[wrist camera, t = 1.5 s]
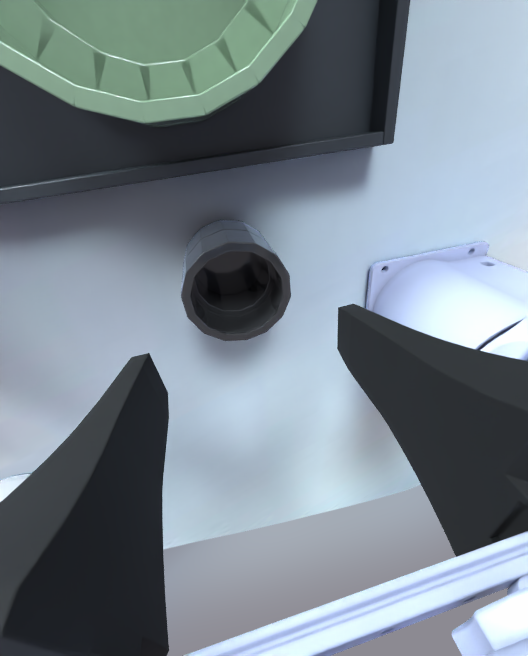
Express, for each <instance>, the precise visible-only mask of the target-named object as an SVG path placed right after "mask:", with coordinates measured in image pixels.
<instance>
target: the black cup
mask: <svg viewBox="0 0 528 656" xmlns="http://www.w3.org/2000/svg"><path fill="white" fill-rule="evenodd" d="M290 297H291V290H290V276H289V273H288V271H287V270H286V268H285V267H284V265H283V264H282V262H281V260H280V259H279V257H278V256H277V254H276V253H275V252H274V250H273V249H272V248H271V246H270V245H269V244H268V242H267V241H266V240H265V238H264V237H263V236H262V234H261V233H260V232H259V231H258V230H256V229H255V228H253V227H251V226H250V225H248V224H246V223H244V222H243V221H242V222H241V221H235V220H218V221H216V222H214V223H211V224H209V225H207V226H204V227H202V228H201V229H199V231H198V232H197V233H196V234H195V235H194V237H193V238H192V239H191V240H190V242H189V243H188V245H187V247H186V252H185V257H184V262H183V275H182V288H181V298H182V301H183V304H184V308H185V311H186V314H187V317H188V318H189V319H190V320H191V321H192V322H193V323H194V324H195V325H196V326H197V327H198V328H199V329H200V330H201V331H202V332H203V333H204V334H207V335H210V336H212V337H215V338H218V339H221V340H223V341H224V340H225V341H236V340H248V339H251V338H253V337H255V336H258V335H260V334H262V333H265V332H267V331H268V330H269V329H270V328H271V327H272V326H273V325H274V324H275V323H276V322H277V321H278V320H279V319H281V318H282V316H283V314H284V312H285V310H286V307H287V305H288V302H289V300H290Z"/></svg>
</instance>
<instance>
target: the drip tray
mask: <svg viewBox="0 0 528 656" xmlns="http://www.w3.org/2000/svg"><path fill="white" fill-rule="evenodd" d="M409 6H410V0H318V1H317V3H316V6H315V8H314V10H313V12H312V15H311V17H310V19H309V21H308V24H307V26H306V28H305V29H304V30H303V32H302V33H301V35H300V36H299V37H298V38H297V39H296V41H295V42H294V43H293V44H292V46H291V47H290V48H289V49H288V50H287V52H286V53H285V54H284V55H283V56H282V58H281V59H280V60H279V61H278V62H277V64H276V65H275V66H274V67H273V68H272V70H271V71H270V72H269V73H268V75H267V76H266V77H265V78H264V79H263V81H262V82H261V83H260V84H259V85H257V86H256V87H255V88H254V89H253V90H252V91H250V92H249V93H248V94H247V95H246V96H244V97H243V98H242V99H241V100H240V101H238V102H237V103H235V104H233V105H232V106H230V107H228V108H226V109H225V110H223V111H221V112H220V113H218V114H216V115H214V116H213V117H211V118H209V119H208V120H206V121H204V122H201V123H196V124H189V125H181V126H174V127H167V128H154V127H149V126H145V125H141V124H136V123H132V122H127V121H123V120H119V119H114V118H110V117H107V116H103V115H100V114H96V113H92V112H89V111H85V110H82V109H78V108H76V107H73V106H71V105H69V104H68V103H66V102H64V101H62V100H60V99H59V98H57V97H55V96H53V95H52V94H50V93H48V92H46V91H44V90H43V89H41V88H39V87H37V86H35V85H34V84H32V83H30V82H28V81H26V80H25V79H23V78H21V77H19V76H17V75H16V74H14V73H12V72H10V71H9V70H7V69H5V68H3V67H1V66H0V204H6V203H12V202H19V201H25V200H32V199H38V198H44V197H51V196H57V195H64V194H70V193H77V192H83V191H90V190H96V189H102V188H109V187H115V186H122V185H128V184H135V183H141V182H148V181H154V180H160V179H167V178H173V177H180V176H186V175H193V174H199V173H205V172H212V171H218V170H225V169H231V168H238V167H244V166H251V165H257V164H263V163H270V162H276V161H283V160H289V159H296V158H302V157H308V156H315V155H321V154H328V153H334V152H341V151H347V150H354V149H360V148H366V147H373V146H379V145H386V144H392V143H393V141H394V132H395V124H396V116H397V107H398V99H399V90H400V82H401V73H402V65H403V57H404V48H405V40H406V31H407V23H408V14H409Z"/></svg>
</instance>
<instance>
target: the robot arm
mask: <svg viewBox="0 0 528 656" xmlns="http://www.w3.org/2000/svg"><path fill="white" fill-rule="evenodd" d="M488 248H489V244H488V243H487V242H484V241H481V242H476V243H471V244H466V245H461V246H456V247H451V248H446V249H441V250H436V251H431V252H426V253H421V254H416V255H411V256H406V257H401V258H396V259H391V260H386V261H382V262H377V263H374V264H373V265H372V266H371V268H370V273H369V282H368V292H367V302H366V309H365V308H363V307H360V306H358V305H355V304H351V305H347V306H343V307H339V308H338V347H337V349H338V351H339V353H340V355H341V357H342V358H343V360H344V362H345V364H346V366H347V368H348V369H349V371H350V372H351V374H352V375H353V377H354V378H355V379H356V381H357V382H358V383H359V385H360V386H361V388H362V389H363V390H364V392H365V393H366V394H367V396H368V397H369V399H370V400H371V401H372V403H373V404H374V405H375V407H376V408H377V409H378V411H379V412H380V414H381V415H382V417H383V418H384V420H385V421H386V423H387V424H388V426H389V427H390V429H391V431H392V433H393V434H394V436H395V438H396V439H397V441H398V443H399V445H400V446H401V448H402V450H403V452H404V453H405V455H406V457H407V459H408V461H409V463H410V464H411V466H412V468H413V470H414V472H415V473H416V475H417V477H418V479H419V481H420V483H421V485H422V487H423V489H424V491H425V493H426V495H427V497H428V498H429V501H430V502H431V505H432V507H433V509H434V511H435V513H436V515H437V517H438V519H439V521H440V523H441V525H442V527H443V529H444V532H445V534H446V535H447V538H448V540H449V542H450V544H451V546H452V549H453V551H454V553H455V555H456V557H455V558H452V559H449V560H446V561H444V562H441V563H438V564H435V565H433V566H430V567H427V568H424V569H422V570H419V571H416V572H413V573H411V574H408V575H405V576H402V577H399V578H397V579H394V580H392V581H388V582H386V583H383V584H380V585H377V586H374V587H372V588H369V589H366V590H363V591H361V592H358V593H355V594H353V595H350V596H347V597H344V598H341V599H339V600H336V601H333V602H330V603H327V604H325V605H322V606H319V607H316V608H314V609H311V610H308V611H305V612H303V613H300V614H297V615H294V616H292V617H289V618H286V619H284V620H281V621H278V622H275V623H272V624H269V625H267V626H264V627H261V628H258V629H256V630H253V631H250V632H247V633H245V634H242V635H239V636H236V637H234V638H231V639H228V640H225V641H222V642H220V643H217V644H214V645H211V646H209V647H206V648H203V649H200V650H198V651H195V652H192V653H189V654H187V655H184V656H331V655H333V654H336V653H339V652H341V651H344V650H346V649H349V648H352V647H354V646H357V645H359V644H362V643H365V642H367V641H370V640H373V639H375V638H378V637H380V636H383V635H386V634H388V633H391V632H393V631H396V630H398V629H401V628H404V627H406V626H409V625H412V624H414V623H417V622H419V621H422V620H425V619H427V618H430V617H432V616H435V615H438V614H440V613H443V612H445V611H448V610H450V609H453V608H456V607H458V606H461V605H464V604H466V603H469V602H472V601H474V600H476V599H479V598H482V597H485V596H487V595H490V594H492V593H495V592H498V591H500V590H503V589H505V588H508V587H509V588H508V591H507V596H506V597H504V598H502V599H500V600H497V601H495V602H493V603H491V604H489V605H487V606H485V607H483V608H481V609H479V610H476V611H475V612H474V615H473V616H472V617H471V618H470V619H469V620H468V621H466V622H465V623H464V624H462V625H460V626H459V627H457V628H456V629H454V630H453V631H452V637H453V639H454V641H455V643H456V645H457V647H458V648H459V650H460V652H461V654H462V656H528V272H527V271H524V270H522V269H519V268H517V267H514V266H512V265H509V264H507V263H504V262H501V261H499V260H496V259H494V258H491V257H489V256H486V254H487V251H488ZM469 250H470V251H469ZM384 266H385V269H384V270H382V268H383V267H384ZM168 420H169V409H168V392H167V390H166V388H165V386H164V384H163V381H162V379H161V377H160V375H159V373H158V371H157V369H156V367H155V365H154V363H153V361H152V358H151V356H150V354H149V353H148V354H143V355H139V356H135V357H132V358H131V359H130V360H129V361H128V363H127V364H126V365H125V367H124V368H123V369H122V371H121V372H120V373H119V375H118V376H117V377H116V379H115V380H114V381H113V383H112V384H111V385H110V387H109V388H108V389H107V391H106V392H105V393H104V395H103V396H102V397H101V399H100V400H99V401H98V402H97V404H96V405H95V406H94V407H93V408H92V410H91V411H90V412H89V413H88V415H87V416H86V417H85V418H84V419H83V421H82V422H81V423H80V424H79V425H78V427H77V428H76V429H75V430H74V431H73V432H72V433H71V434H70V436H69V437H68V438H67V439H66V440H65V441H64V442H63V443H62V444H61V445H60V446H59V447H58V448H57V449H56V450H55V451H54V452H53V453H52V454H51V456H50V457H49V458H48V459H47V460H46V461H45V462H44V463H43V464H41V465H40V466H39V467H38V468H37V469H36V470H35V471H34V472H33V473H32V474H31V475H30V476H29V477H27V478H26V479H25V480H24V481H23V482H22V483H21V484H20V485H19V486H18V487H17V488H16V489H15V490H13V491H12V492H11V493H10V494H9V495H8V496H7V497H6V498H5V499H3V500H2V501H1V502H0V656H167V653H168V651H169V645H168V632H167V618H166V603H165V585H164V564H163V528H162V486H163V472H164V462H165V452H166V442H167V431H168Z"/></svg>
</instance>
